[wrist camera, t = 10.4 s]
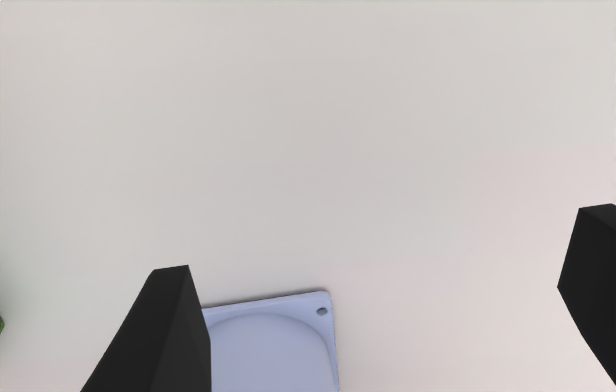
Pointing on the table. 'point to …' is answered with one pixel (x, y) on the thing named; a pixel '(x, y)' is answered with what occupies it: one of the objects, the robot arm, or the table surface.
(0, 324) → the green block
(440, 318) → the table surface
